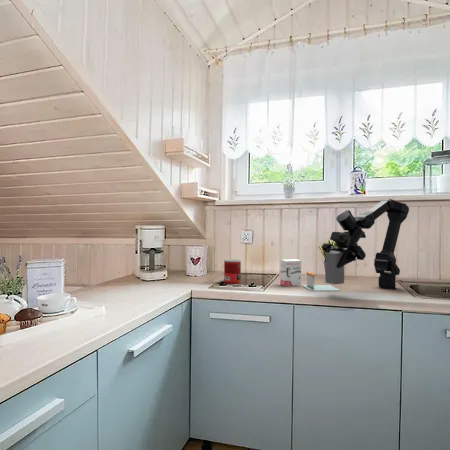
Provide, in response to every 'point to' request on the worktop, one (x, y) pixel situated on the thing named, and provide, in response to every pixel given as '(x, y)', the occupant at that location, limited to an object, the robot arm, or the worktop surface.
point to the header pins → (310, 280)
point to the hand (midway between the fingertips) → (332, 266)
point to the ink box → (290, 272)
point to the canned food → (232, 271)
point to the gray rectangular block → (334, 268)
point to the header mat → (322, 288)
